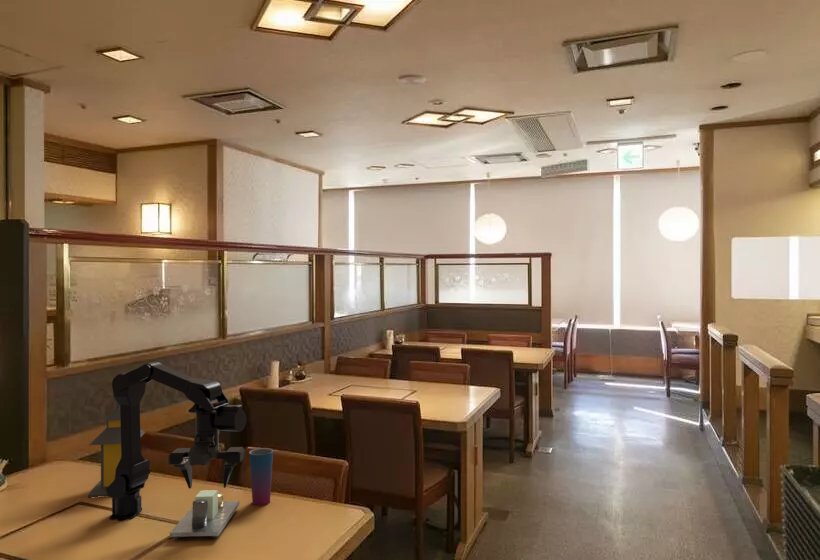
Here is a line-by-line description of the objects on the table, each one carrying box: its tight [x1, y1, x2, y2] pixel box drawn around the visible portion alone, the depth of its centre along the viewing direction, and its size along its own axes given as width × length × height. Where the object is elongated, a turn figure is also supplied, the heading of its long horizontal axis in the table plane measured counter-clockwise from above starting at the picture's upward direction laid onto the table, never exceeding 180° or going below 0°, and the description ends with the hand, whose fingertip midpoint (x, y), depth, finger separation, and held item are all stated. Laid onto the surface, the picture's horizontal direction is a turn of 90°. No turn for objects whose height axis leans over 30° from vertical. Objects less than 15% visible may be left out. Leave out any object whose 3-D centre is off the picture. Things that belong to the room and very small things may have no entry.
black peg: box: [192, 499, 208, 528], centre depth 146 cm, size 4×4×6 cm
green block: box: [194, 489, 219, 519], centre depth 152 cm, size 4×4×6 cm
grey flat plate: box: [169, 500, 241, 540], centre depth 152 cm, size 12×20×2 cm, turn 2°
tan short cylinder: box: [218, 491, 224, 508], centre depth 159 cm, size 4×4×3 cm
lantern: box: [87, 395, 146, 497], centre depth 180 cm, size 14×14×30 cm
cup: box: [248, 447, 274, 507], centre depth 167 cm, size 7×7×15 cm
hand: (207, 487), depth 152 cm, fingers open, 9 cm apart
